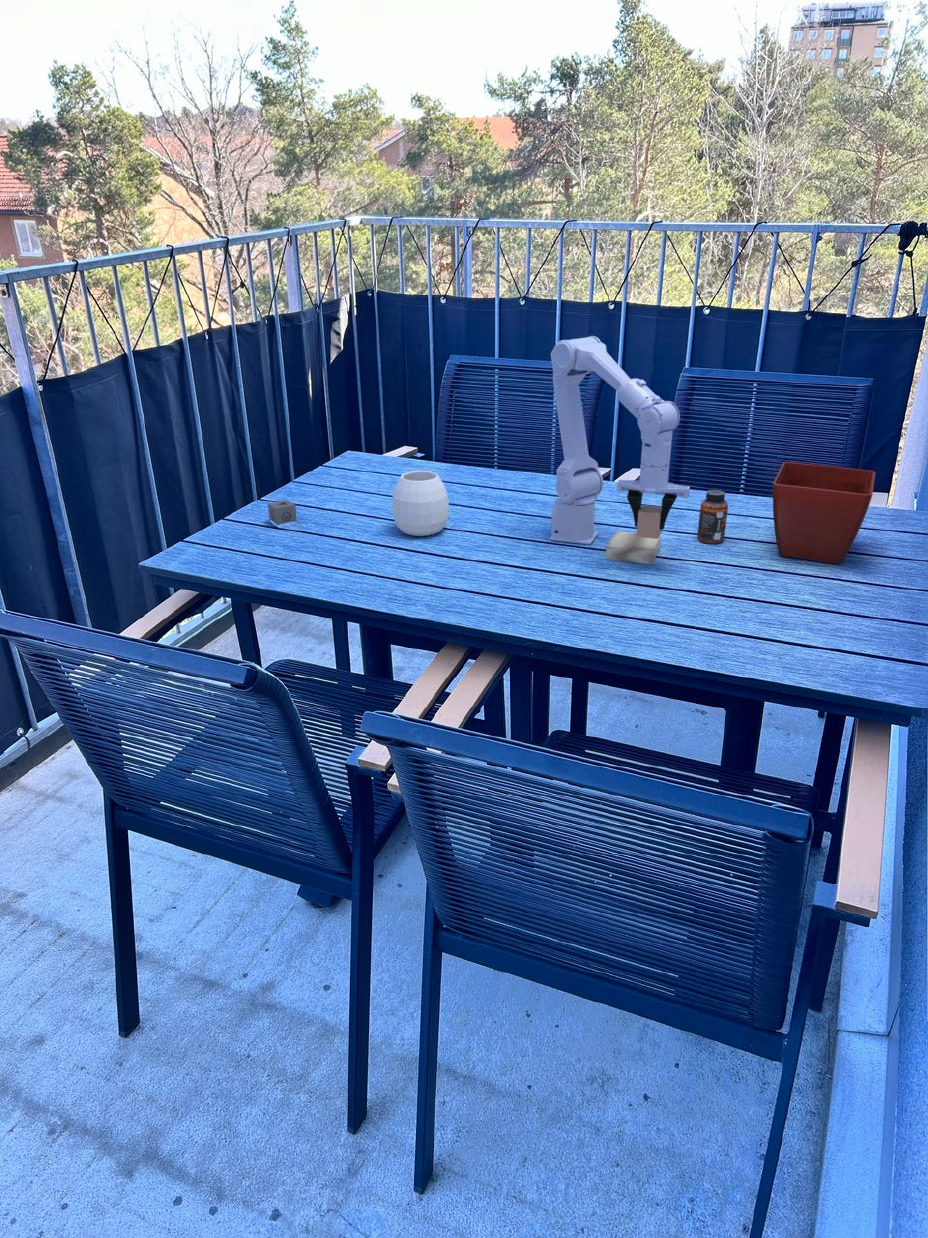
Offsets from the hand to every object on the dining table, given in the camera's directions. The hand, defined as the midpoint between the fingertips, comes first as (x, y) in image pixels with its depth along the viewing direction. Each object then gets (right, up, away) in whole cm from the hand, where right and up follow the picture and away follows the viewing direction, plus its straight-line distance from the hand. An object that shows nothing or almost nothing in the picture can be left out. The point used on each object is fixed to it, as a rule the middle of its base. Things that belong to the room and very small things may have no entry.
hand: (649, 526), depth 186 cm
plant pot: (+38, -5, +9) cm, 39 cm away
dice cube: (-83, +4, +31) cm, 88 cm away
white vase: (-49, +1, +24) cm, 55 cm away
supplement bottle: (+17, -2, +16) cm, 24 cm away
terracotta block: (0, -1, +1) cm, 2 cm away
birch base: (-2, -5, +9) cm, 10 cm away
